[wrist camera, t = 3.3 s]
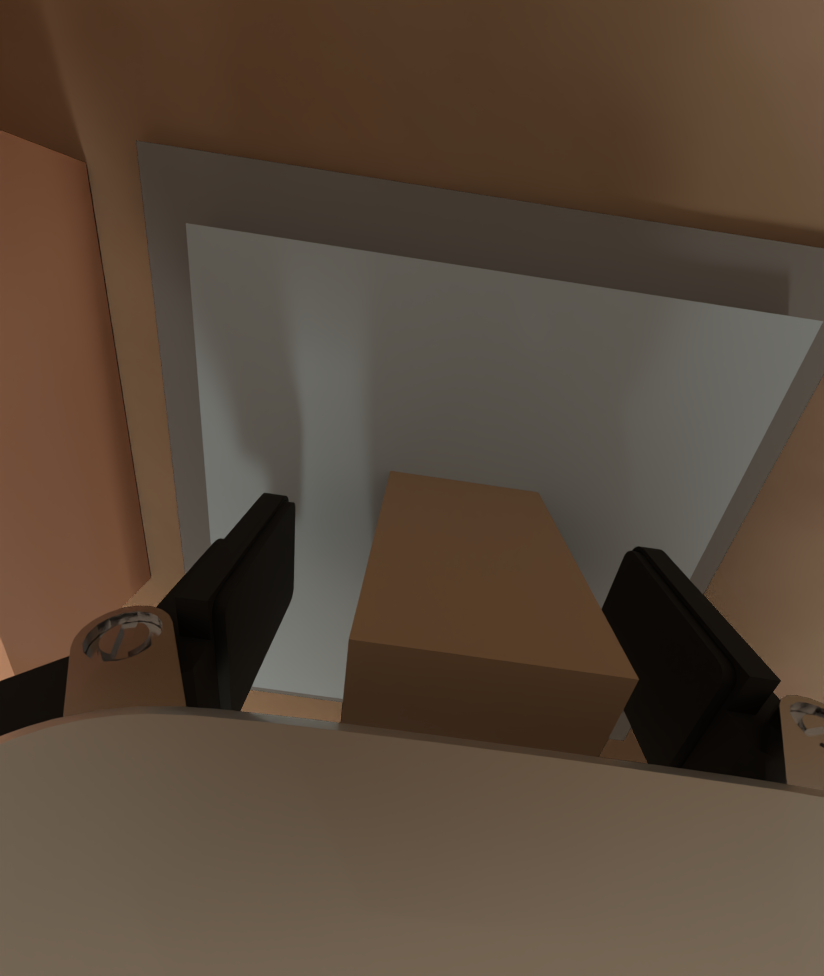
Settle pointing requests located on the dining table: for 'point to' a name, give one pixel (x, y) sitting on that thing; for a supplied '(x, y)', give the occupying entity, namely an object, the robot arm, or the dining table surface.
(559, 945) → the robot arm
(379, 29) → the dining table surface
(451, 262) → the mat
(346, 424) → the lid
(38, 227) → the peach open tray
